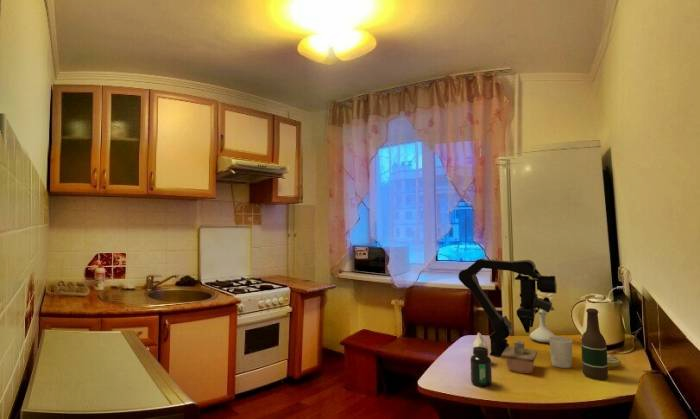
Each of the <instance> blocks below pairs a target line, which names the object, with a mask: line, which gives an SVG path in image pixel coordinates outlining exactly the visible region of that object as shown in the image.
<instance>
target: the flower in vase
mask: <svg viewBox="0 0 700 419" xmlns="http://www.w3.org/2000/svg"><path fill="white" fill-rule="evenodd" d="M536 293H537V295H538V298H542V299H544V298H545V297H547V298H549V299H550V302H552V301H553V299H554V297H555V296H554V293H544V292H540V290H538V291H536ZM551 311H555V308H554V306H553V305H552V306H551V309H550V311H549V312H551ZM549 312H546V311H544V310H542V309H539V311H538V312H537V313H536V314H537V315H538V317H539V318H538V319H539V326H538V327H537V328H536V329H534V330H533V331H532V332H531V333H530V334H529V338H530V339H532V340H533V341H536V342H539V343H550V342H549V337H551V336H556V335H555V333H553V332H552V331H551V330H549V329H548V328H547V325H546V316H547V314H548V313H549Z"/></svg>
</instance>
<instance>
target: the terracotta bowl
mask: <svg viewBox="0 0 700 419" xmlns="http://www.w3.org/2000/svg"><path fill="white" fill-rule="evenodd" d="M505 361H506V363H505V364H506V368H507V369H508V370H509V371H511V372H515V373H518V374H531V373H533V371H534V365H535V363H534V362H533V363H532V362H526V361H521V360H515V359H509V358H505Z"/></svg>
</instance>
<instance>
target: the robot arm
mask: <svg viewBox="0 0 700 419" xmlns="http://www.w3.org/2000/svg"><path fill="white" fill-rule="evenodd" d="M482 269H487V270H488V269H489V270H497V271H508V272H513V273H515V274H517V276H516V277H515V278H514V280H515V281H519V285H520V293H519V297H520V303H519V308H518V309H517V310H516V316H517V318H518V320H519V321H520V323H521V325H522V328H523V329H524V331H525V333H526V334H529V333H530V330H531V328H533V327H534V322H535V317H536V314H538V313H537V312H538V311H539V310H544V311H546V312H548V313H550V312H551V311H550V309H551V306H552V307H553V302H552V301H551V302H550V299H549V298H547V297H545V298H544V299H542V298H538V295H537V290H538V291H539V290H540V292H544V293H552V294H557V292H558V290H557V289H558V288H557V287H558V285H557V280H556V276H555V275H542V274H541V273H540V272H539V270H538V269H537V266H536V264H535V262H534V261H532V260H530V259H523V260H521V259H520V260H512V261H510V260H509V261H508V260H498V259H496V260H495V259H486V258H478V259H476V260H475V262H473V263H472V264H471V265H470V266H468V267H467V268H465V269H463V270H461V271H459V273H458V280H459V281H460V283H461V284H463V286H465V287H466V288H467V289H468V290H469V291H470V292H471V293H472V294H473V297H474V298H475V299H476V301H477V302H478V304H479V305H480V307H481V308H482V309H483V311H484V313H485V314H486V315H487V317H488V318H489V320H490V323H491V327H492V329H493V332H492V333H491V334H490V335H489V340H490V353H489V355H490V356H494V357H500V358H502V357H501V354H502V353H503V351H504V350H505V349H506V347H507V346H509V347H510V343H508V339H507V338H508V337H509V336H510V335H511V334H512V332H513V326H512V322H511V321H509V320H510V319H509V318H508V317H507V315H504V316H502V315H501V314H500V313H499V312H498V310H497V309H496V307H495V306H494V304H493V303H492V302H491V299H490V298H489V297H488V296H487V294H486V293H485V291H484V290H483V288H482V287H481V285H480V283H479V279H478V278H479V277H478V276H477V274H479V272H480V271H482Z"/></svg>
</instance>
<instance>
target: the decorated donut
mask: <svg viewBox="0 0 700 419" xmlns="http://www.w3.org/2000/svg"><path fill="white" fill-rule="evenodd" d="M621 363H622V362H621V360H620V359H619V357H617V356H615V355H613V354H609V353H607V365H608V370H615V369H618V368H620V366H621Z"/></svg>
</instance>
